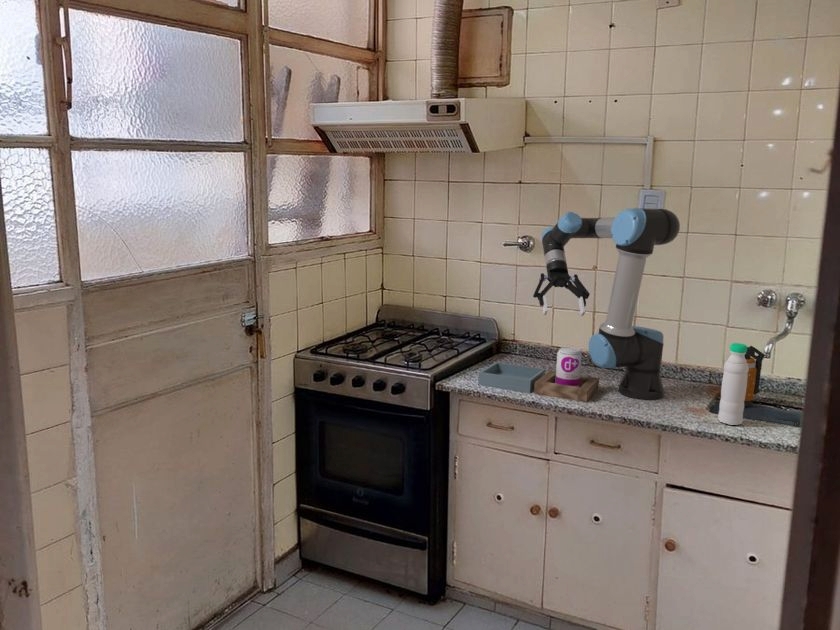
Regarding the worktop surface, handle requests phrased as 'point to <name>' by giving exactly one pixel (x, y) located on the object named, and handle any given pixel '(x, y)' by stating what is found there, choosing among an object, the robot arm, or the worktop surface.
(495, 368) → the tray
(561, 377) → the white soda can
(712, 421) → the worktop surface
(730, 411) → the white plastic bottle
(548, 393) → the can holder
